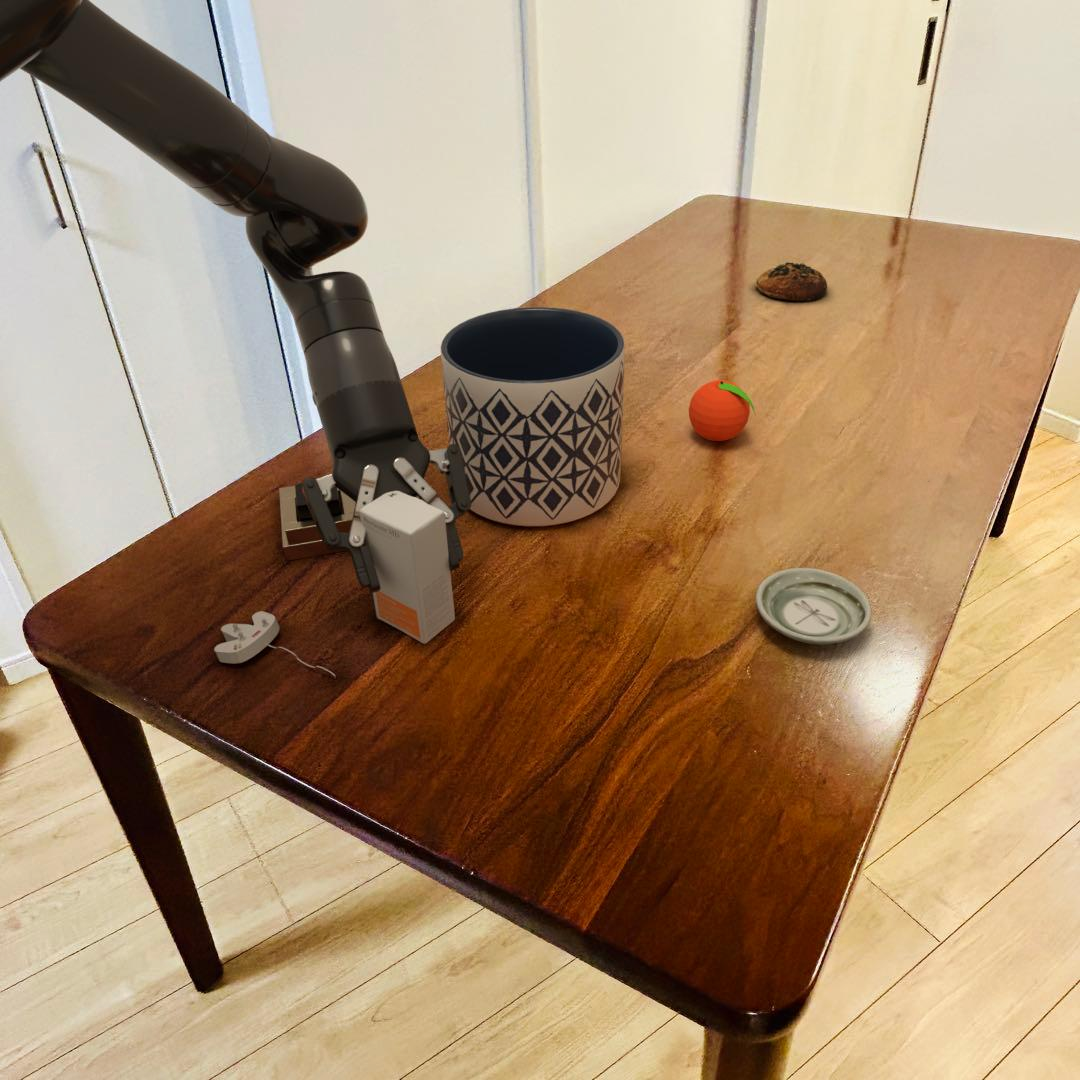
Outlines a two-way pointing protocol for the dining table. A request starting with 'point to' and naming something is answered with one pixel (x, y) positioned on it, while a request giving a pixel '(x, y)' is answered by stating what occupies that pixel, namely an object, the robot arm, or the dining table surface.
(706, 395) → the clementine
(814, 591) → the saucer
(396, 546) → the cosmetic box
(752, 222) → the dining table surface
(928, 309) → the dining table surface
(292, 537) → the keypad
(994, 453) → the dining table surface
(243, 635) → the game controller
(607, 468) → the planter
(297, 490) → the key
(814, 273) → the bread roll
